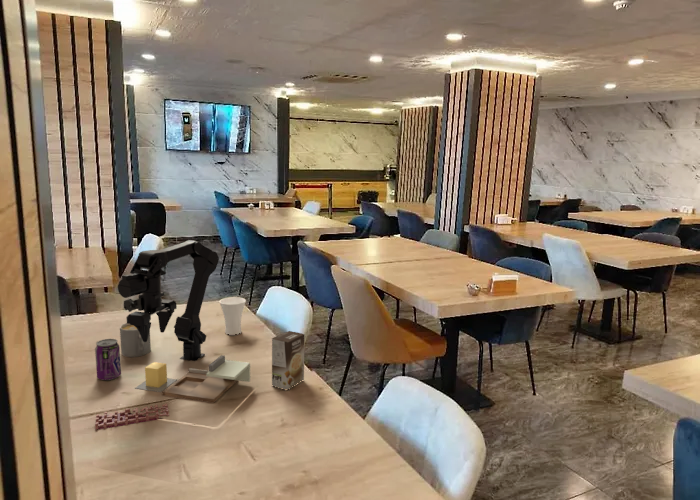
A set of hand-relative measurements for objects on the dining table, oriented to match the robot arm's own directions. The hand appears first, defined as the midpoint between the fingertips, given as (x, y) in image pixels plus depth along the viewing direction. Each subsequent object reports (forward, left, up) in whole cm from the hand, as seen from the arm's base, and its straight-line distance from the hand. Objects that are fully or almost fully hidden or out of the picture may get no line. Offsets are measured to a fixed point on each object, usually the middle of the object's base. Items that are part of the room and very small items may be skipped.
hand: (153, 336), depth 168 cm
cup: (-44, +6, -13) cm, 46 cm away
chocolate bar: (+26, +11, -14) cm, 31 cm away
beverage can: (+6, -13, -13) cm, 19 cm away
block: (+7, +5, -12) cm, 15 cm away
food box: (-6, +44, -13) cm, 46 cm away
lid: (+5, +29, -11) cm, 31 cm away
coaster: (+7, +5, -13) cm, 16 cm away
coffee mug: (-14, -17, -13) cm, 26 cm away
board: (+5, +20, -13) cm, 24 cm away
